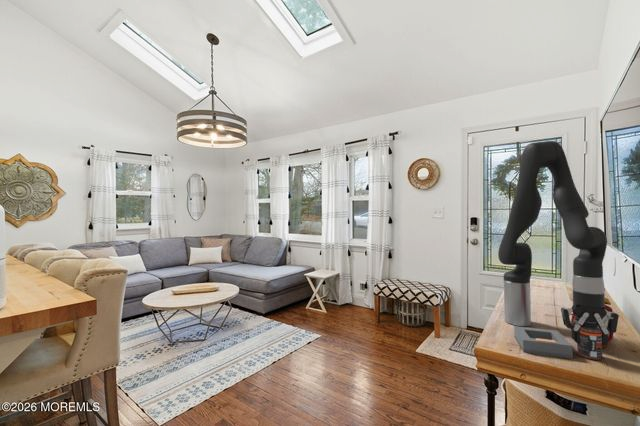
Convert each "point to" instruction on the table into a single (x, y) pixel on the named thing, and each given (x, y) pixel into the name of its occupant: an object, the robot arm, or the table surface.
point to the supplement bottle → (590, 341)
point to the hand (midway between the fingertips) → (589, 343)
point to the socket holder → (542, 342)
